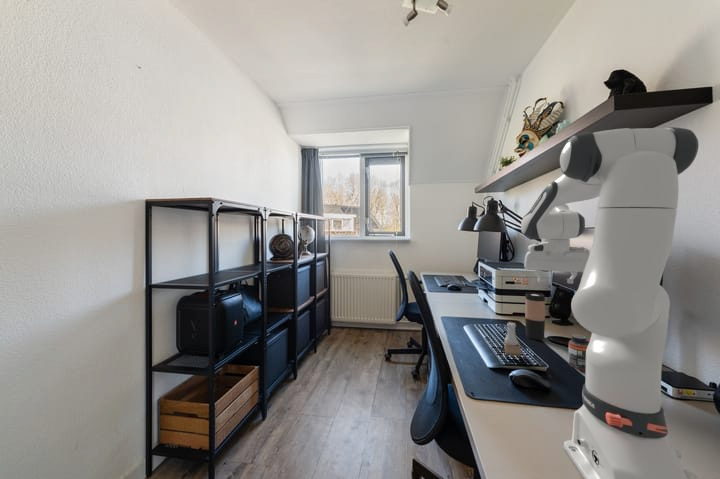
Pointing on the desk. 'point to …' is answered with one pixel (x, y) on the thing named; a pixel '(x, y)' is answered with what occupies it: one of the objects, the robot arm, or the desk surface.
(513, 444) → the desk surface
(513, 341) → the rook chess piece
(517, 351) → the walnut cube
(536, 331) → the travel mug
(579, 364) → the supplement bottle
